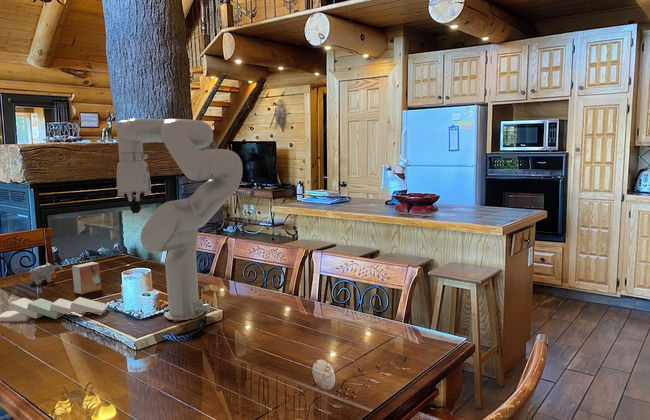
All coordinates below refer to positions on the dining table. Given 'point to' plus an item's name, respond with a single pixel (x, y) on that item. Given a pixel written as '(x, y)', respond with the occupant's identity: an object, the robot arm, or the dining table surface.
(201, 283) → the dining table surface
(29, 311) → the domino
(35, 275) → the elephant statuette
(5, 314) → the domino
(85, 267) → the small box
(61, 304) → the domino
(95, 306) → the domino
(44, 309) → the domino
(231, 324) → the dining table surface
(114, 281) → the dining table surface
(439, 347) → the dining table surface
